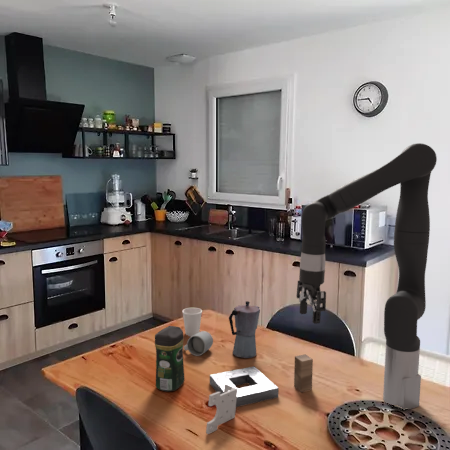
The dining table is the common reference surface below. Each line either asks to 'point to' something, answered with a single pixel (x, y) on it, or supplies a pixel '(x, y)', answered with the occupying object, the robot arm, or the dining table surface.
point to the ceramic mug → (199, 343)
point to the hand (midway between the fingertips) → (309, 318)
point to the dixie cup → (192, 320)
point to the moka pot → (245, 330)
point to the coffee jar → (169, 358)
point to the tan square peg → (303, 373)
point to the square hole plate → (251, 394)
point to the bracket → (222, 407)
